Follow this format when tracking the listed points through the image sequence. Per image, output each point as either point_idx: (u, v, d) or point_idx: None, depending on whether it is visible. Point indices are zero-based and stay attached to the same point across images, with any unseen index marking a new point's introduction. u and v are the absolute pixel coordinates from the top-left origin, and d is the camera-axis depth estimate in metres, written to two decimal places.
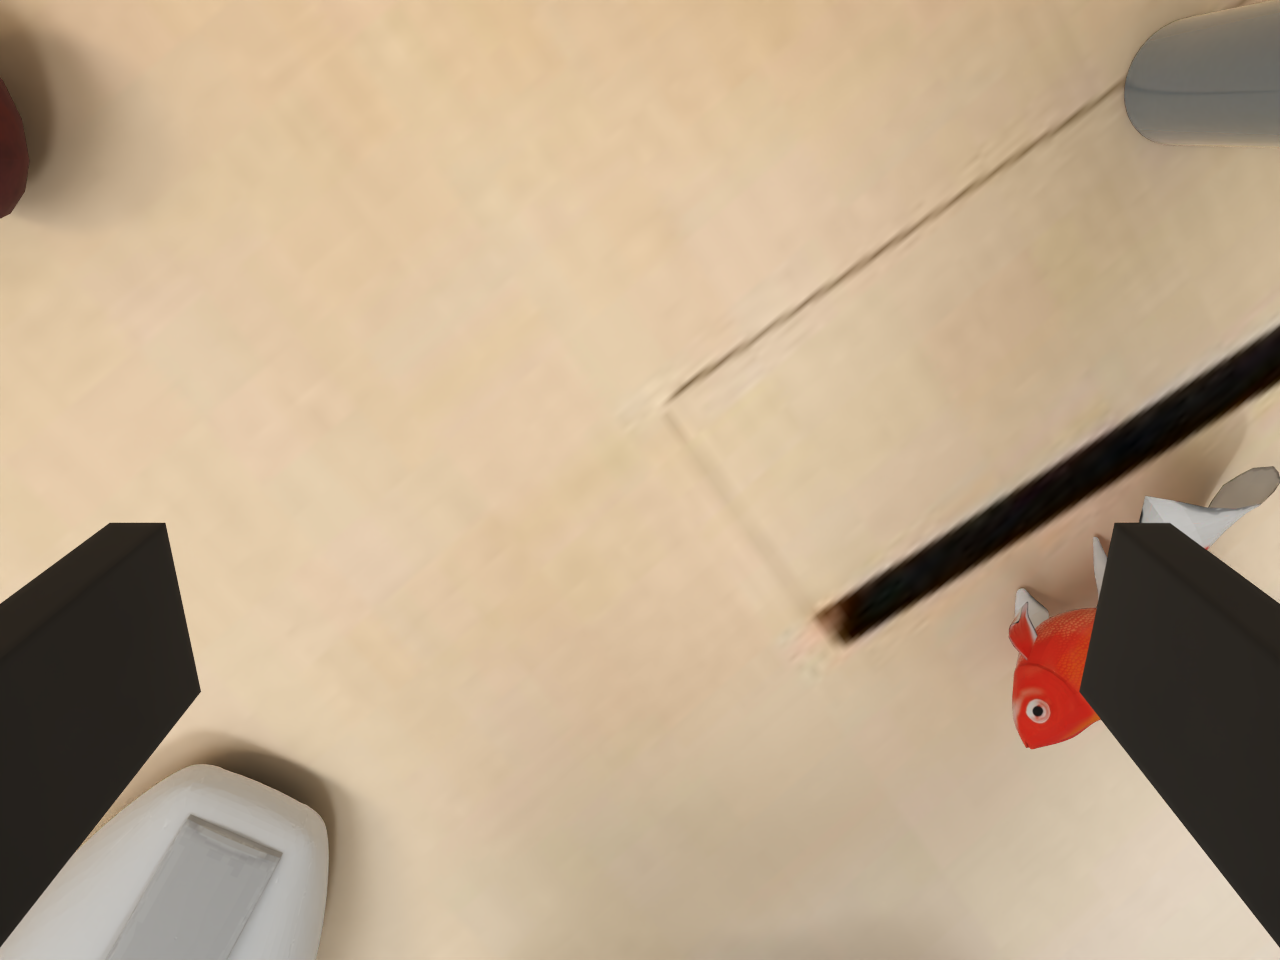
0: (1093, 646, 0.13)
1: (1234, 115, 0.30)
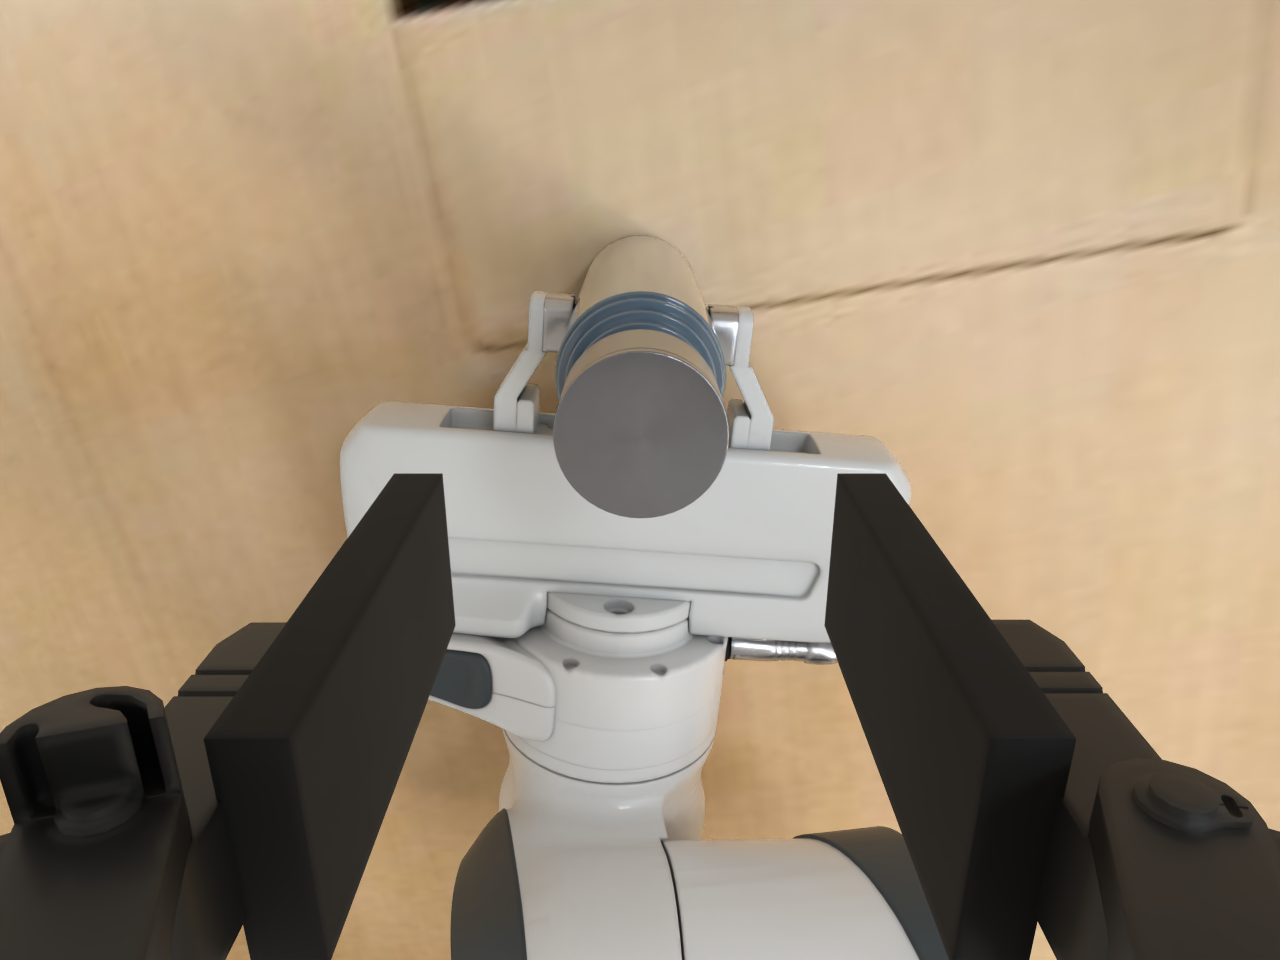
0: (830, 584, 0.14)
1: None
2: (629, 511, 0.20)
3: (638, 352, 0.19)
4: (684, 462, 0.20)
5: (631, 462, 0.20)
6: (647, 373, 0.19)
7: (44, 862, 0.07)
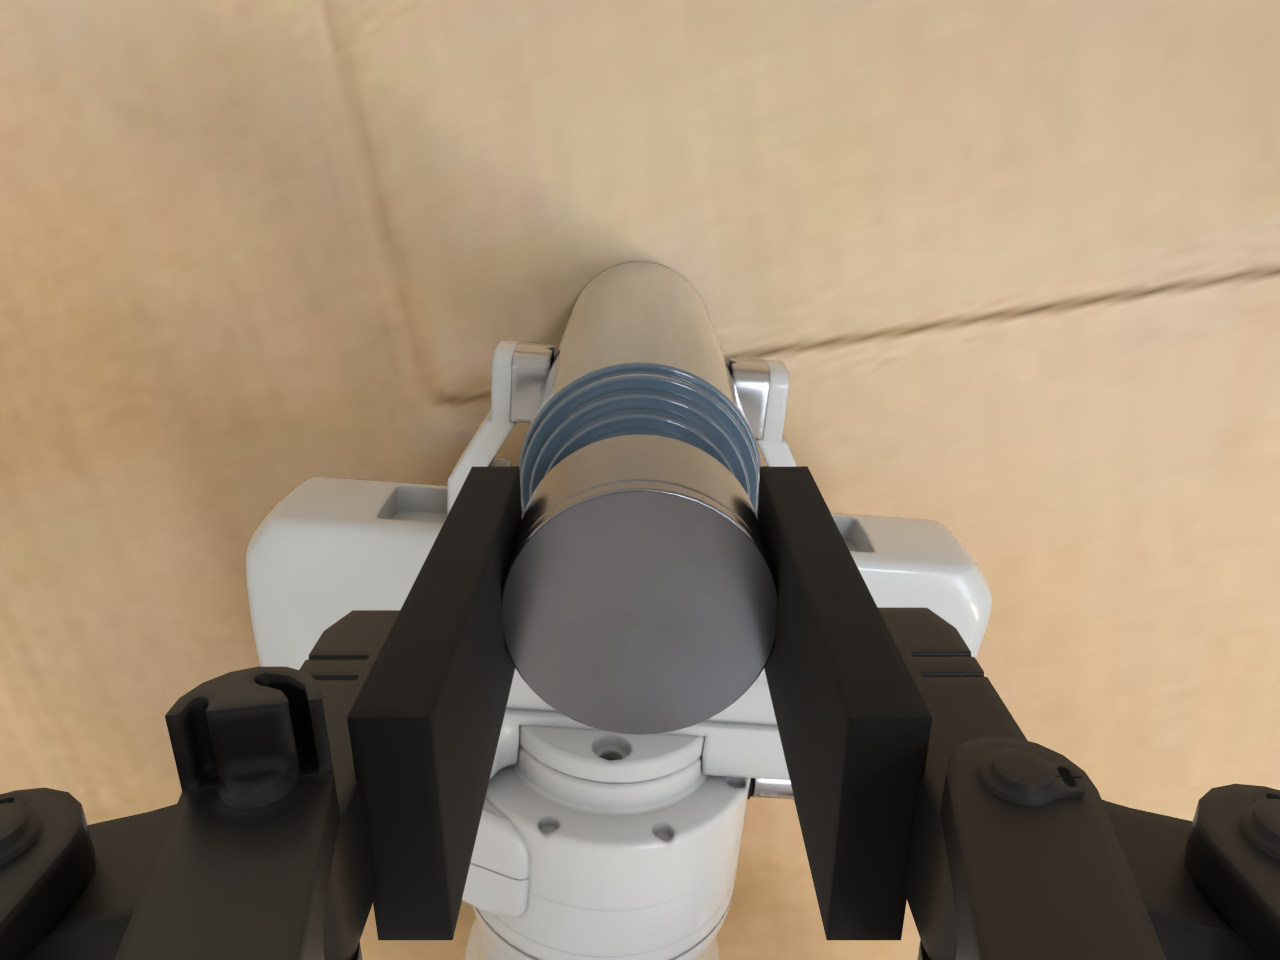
0: None
1: None
2: (621, 725, 0.13)
3: (635, 491, 0.12)
4: (708, 654, 0.13)
5: (625, 656, 0.13)
6: (650, 523, 0.12)
7: (210, 831, 0.07)
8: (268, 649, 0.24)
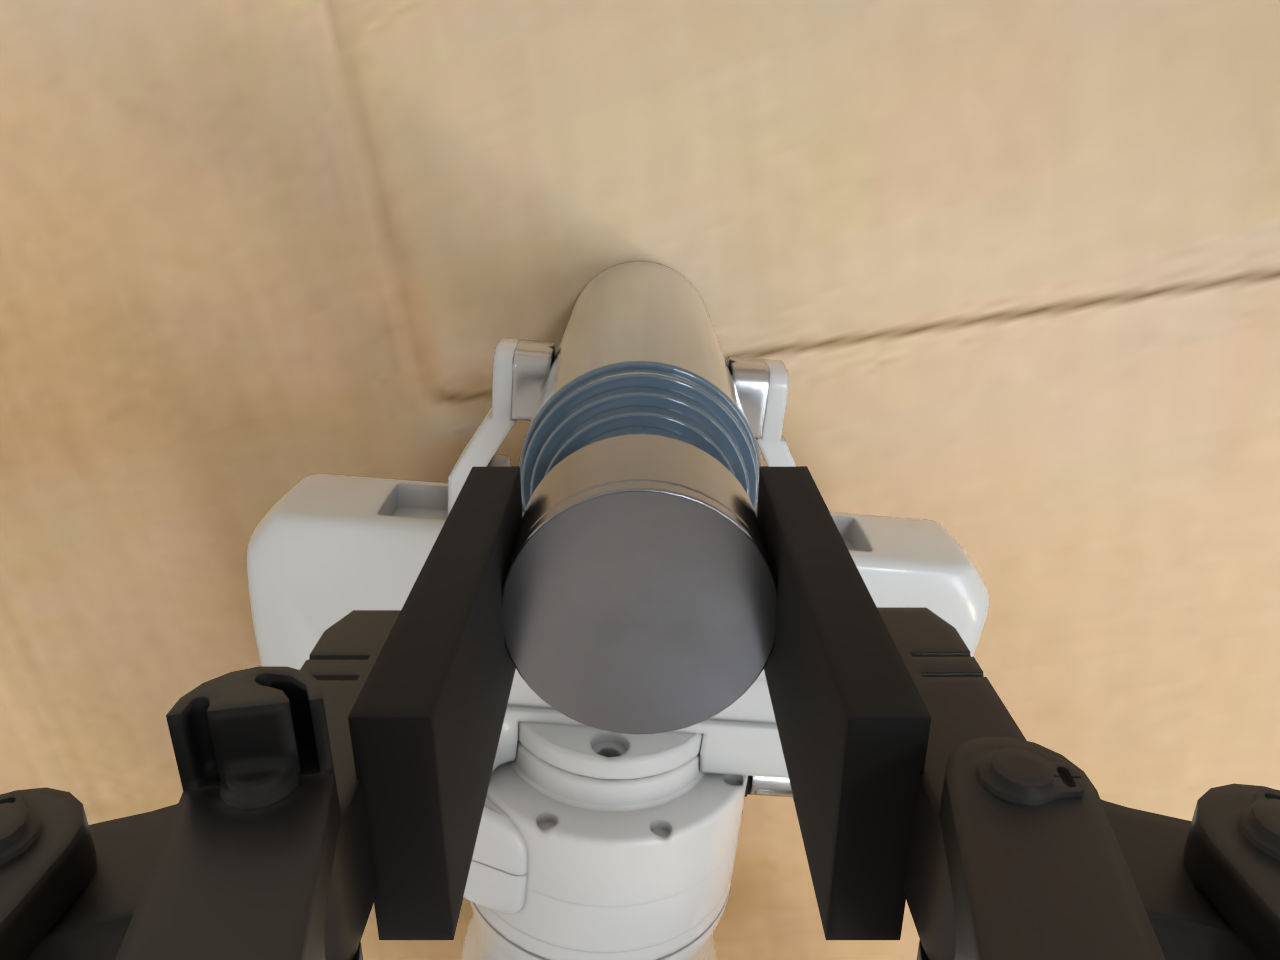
0: None
1: None
2: (768, 610, 0.12)
3: (507, 650, 0.13)
4: (665, 549, 0.12)
5: (683, 623, 0.12)
6: (535, 632, 0.12)
7: (210, 830, 0.07)
8: (268, 645, 0.24)
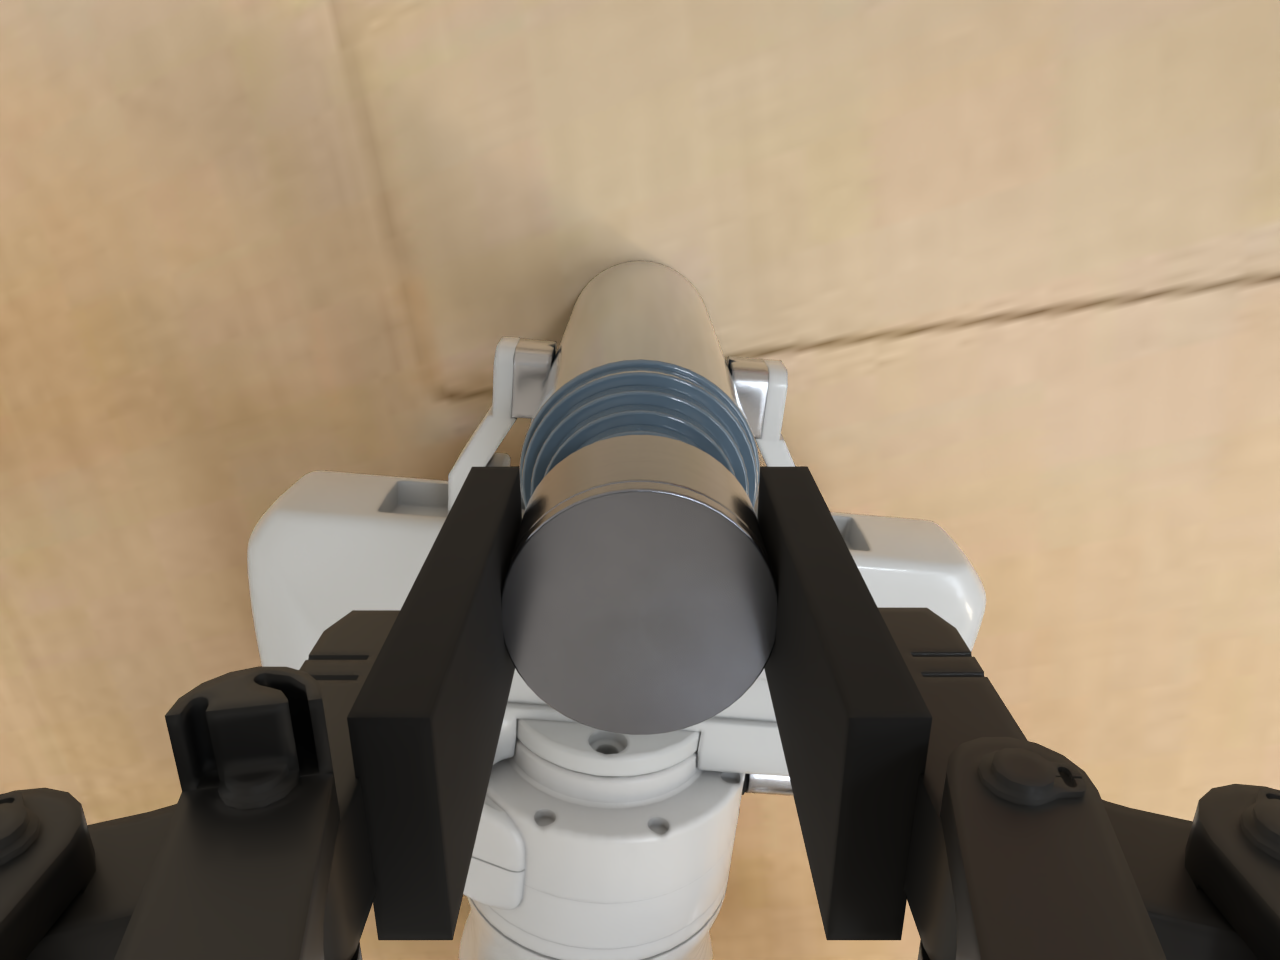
0: None
1: None
2: (598, 507, 0.12)
3: (702, 721, 0.13)
4: (558, 614, 0.12)
5: (634, 580, 0.12)
6: (676, 703, 0.13)
7: (210, 831, 0.07)
8: (268, 640, 0.24)
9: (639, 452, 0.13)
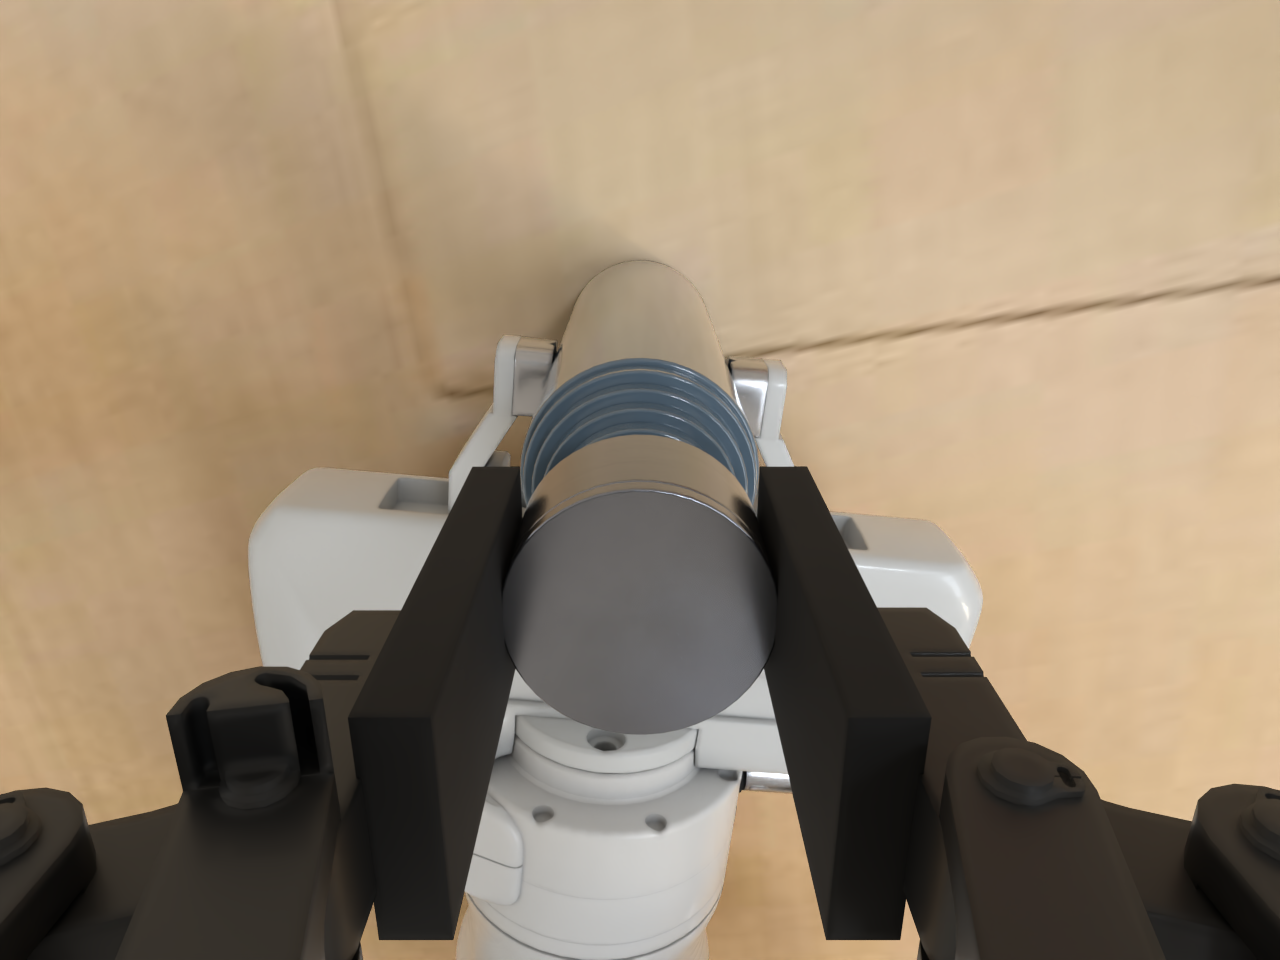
0: None
1: None
2: (532, 676, 0.13)
3: (747, 536, 0.12)
4: (651, 687, 0.13)
5: (597, 632, 0.12)
6: (729, 566, 0.12)
7: (210, 830, 0.07)
8: (269, 636, 0.24)
9: None
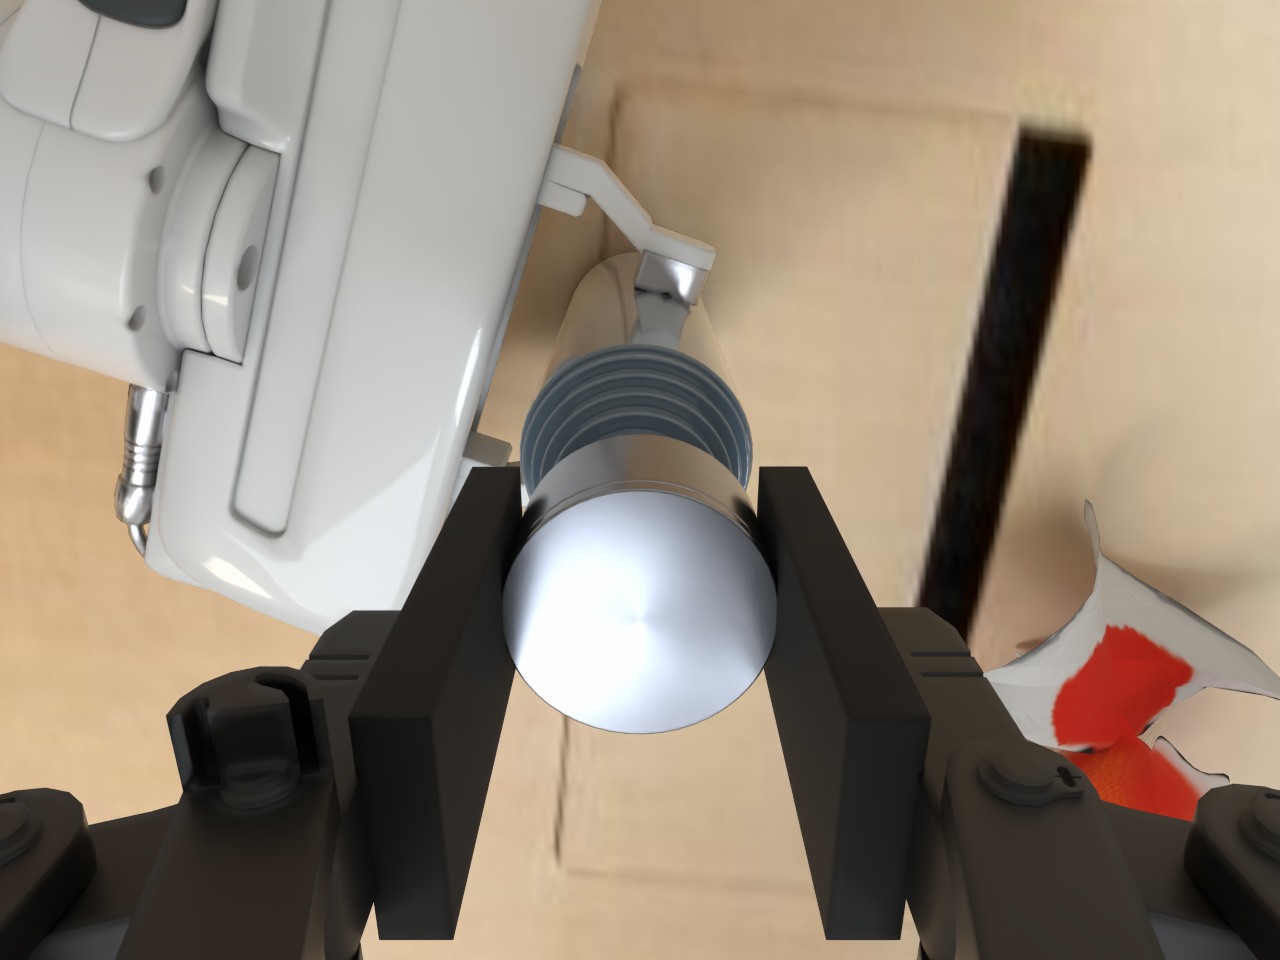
0: None
1: None
2: (532, 675, 0.13)
3: (747, 535, 0.12)
4: (651, 686, 0.13)
5: (598, 632, 0.12)
6: (729, 565, 0.12)
7: (211, 830, 0.07)
8: None
9: None
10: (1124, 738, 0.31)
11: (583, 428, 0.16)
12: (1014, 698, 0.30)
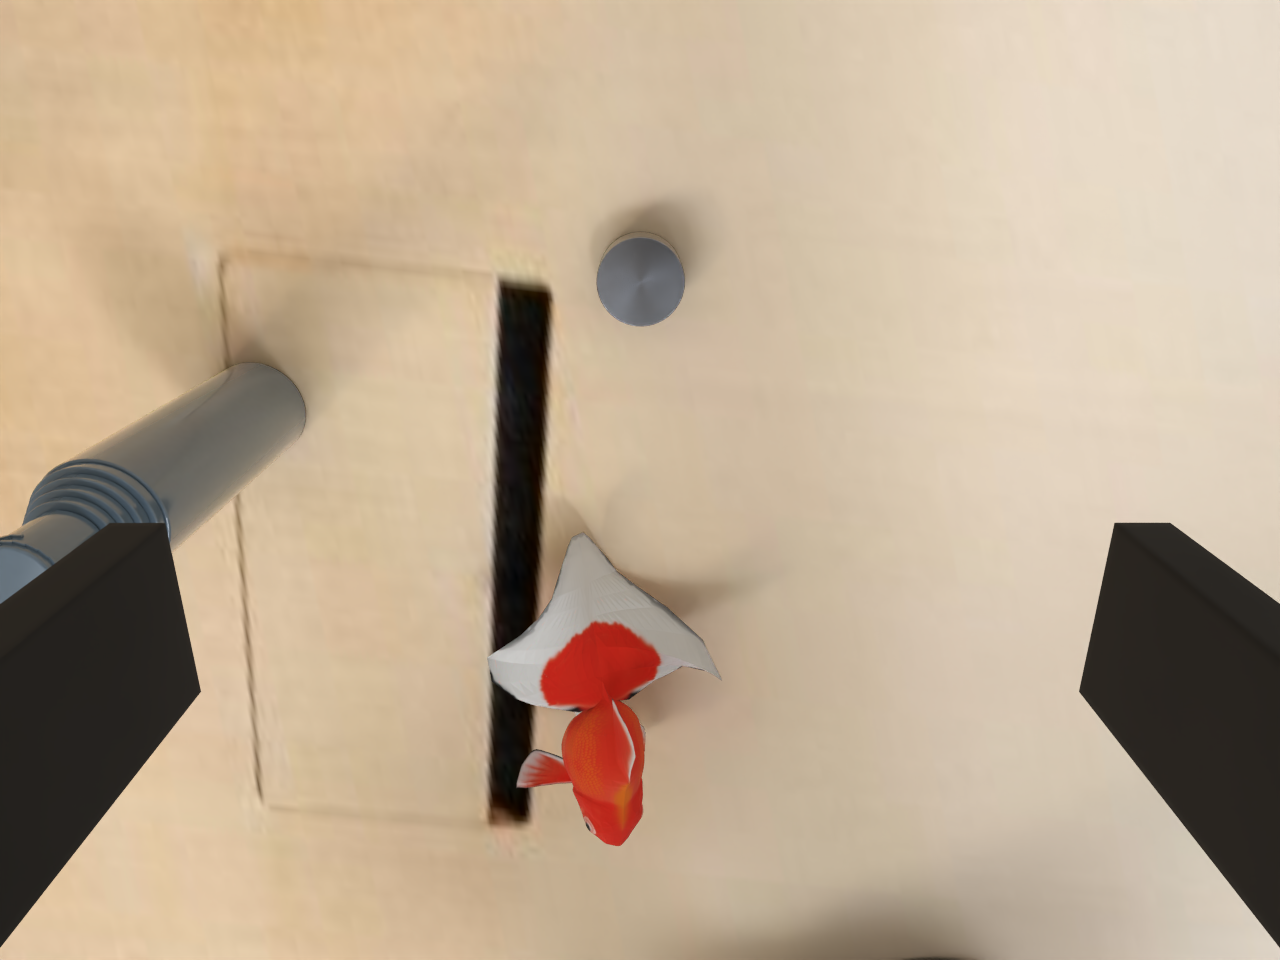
0: (1093, 646, 0.13)
1: None
2: (606, 303, 0.40)
3: (673, 253, 0.39)
4: (644, 307, 0.40)
5: (627, 287, 0.40)
6: (668, 263, 0.39)
7: None
8: None
9: None
10: (602, 701, 0.44)
11: (32, 510, 0.29)
12: (511, 672, 0.43)
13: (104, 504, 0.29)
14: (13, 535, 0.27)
